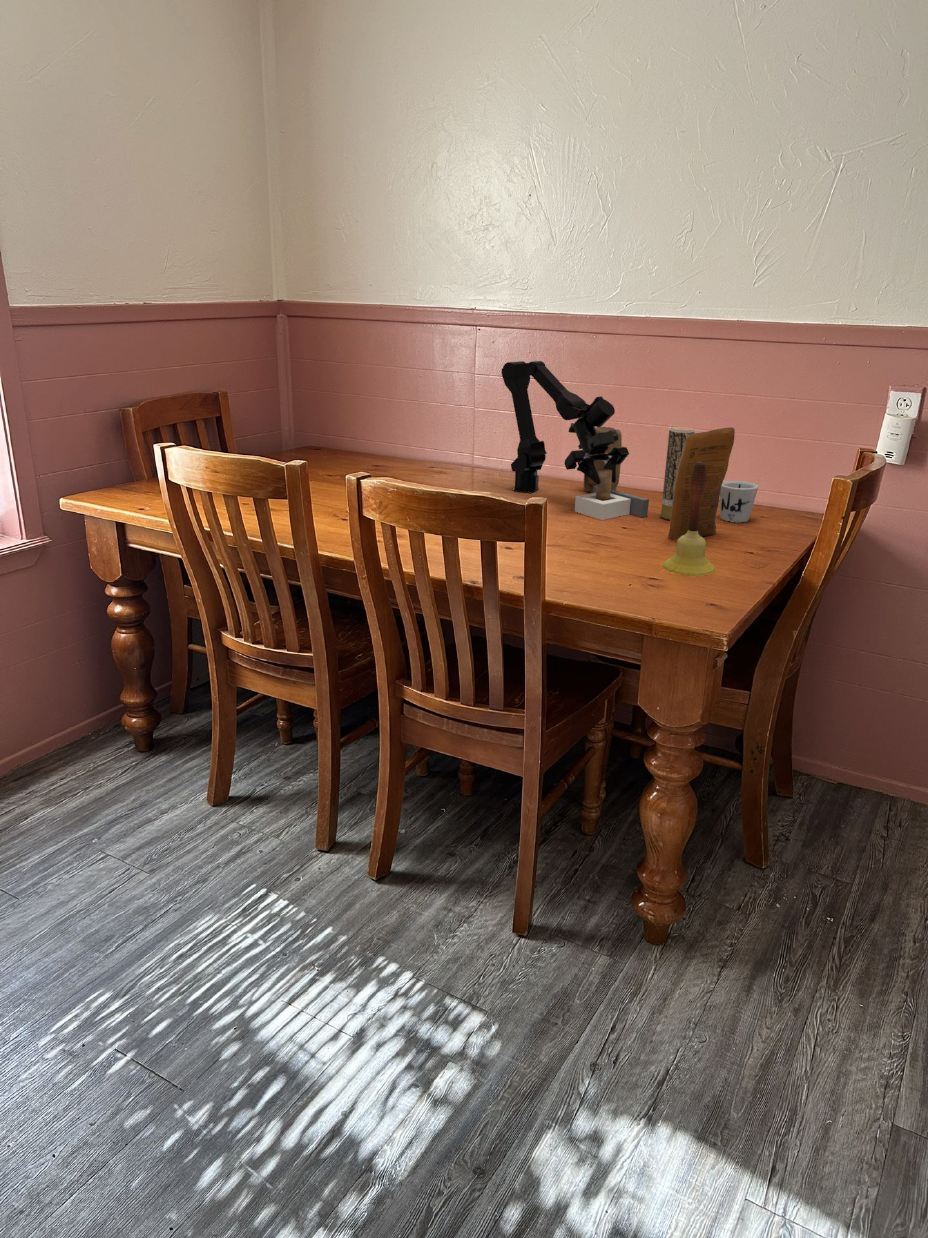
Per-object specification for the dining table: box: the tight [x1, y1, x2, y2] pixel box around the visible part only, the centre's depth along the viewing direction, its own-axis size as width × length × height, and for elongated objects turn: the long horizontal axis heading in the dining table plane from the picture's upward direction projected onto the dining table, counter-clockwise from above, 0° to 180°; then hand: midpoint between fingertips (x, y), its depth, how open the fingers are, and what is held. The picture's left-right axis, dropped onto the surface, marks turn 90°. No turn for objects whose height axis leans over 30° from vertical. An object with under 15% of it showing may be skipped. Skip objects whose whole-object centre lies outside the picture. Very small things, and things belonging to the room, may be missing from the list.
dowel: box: [596, 469, 612, 501], centre depth 250 cm, size 4×4×12 cm
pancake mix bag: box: [667, 427, 736, 540], centre depth 227 cm, size 7×19×28 cm, turn 118°
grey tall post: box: [660, 426, 696, 521], centre depth 243 cm, size 7×7×25 cm
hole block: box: [574, 492, 631, 521], centre depth 251 cm, size 11×11×4 cm
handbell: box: [661, 462, 716, 577], centre depth 202 cm, size 12×12×25 cm
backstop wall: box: [593, 486, 650, 518], centre depth 255 cm, size 20×2×5 cm, turn 37°
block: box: [583, 426, 623, 494], centre depth 271 cm, size 11×8×20 cm
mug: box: [719, 480, 759, 524], centre depth 248 cm, size 10×15×10 cm
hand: (606, 482), depth 248 cm, fingers open, 5 cm apart
